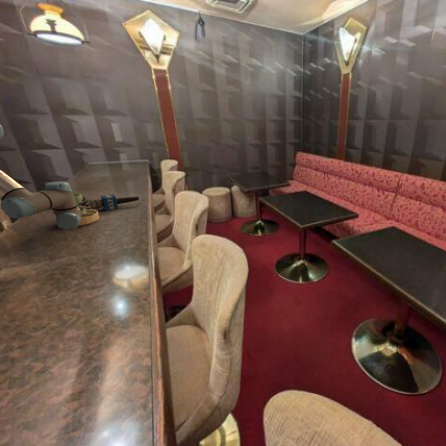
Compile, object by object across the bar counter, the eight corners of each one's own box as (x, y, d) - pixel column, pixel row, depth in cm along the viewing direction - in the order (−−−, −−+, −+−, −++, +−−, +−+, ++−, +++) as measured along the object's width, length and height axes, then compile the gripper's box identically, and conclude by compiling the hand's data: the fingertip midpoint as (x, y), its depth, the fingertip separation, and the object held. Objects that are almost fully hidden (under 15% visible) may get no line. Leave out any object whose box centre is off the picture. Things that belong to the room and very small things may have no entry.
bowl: (53, 230, 119) (51, 222, 117) (60, 219, 132) (57, 212, 130) (98, 223, 128) (96, 216, 126) (100, 214, 141) (98, 207, 139)
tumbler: (71, 217, 123) (65, 198, 120) (63, 214, 126) (57, 195, 123) (89, 212, 130) (84, 194, 126) (81, 210, 133) (76, 192, 129)
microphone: (138, 193, 155) (87, 200, 139) (141, 205, 158) (91, 213, 142) (135, 191, 161) (86, 197, 145) (138, 202, 163) (90, 209, 147)
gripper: (42, 224, 108) (49, 210, 125) (101, 215, 120) (100, 204, 137) (35, 208, 105) (44, 196, 122) (97, 201, 117) (97, 191, 134)
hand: (74, 200), depth 129 cm, fingers closed on tumbler, 8 cm apart
